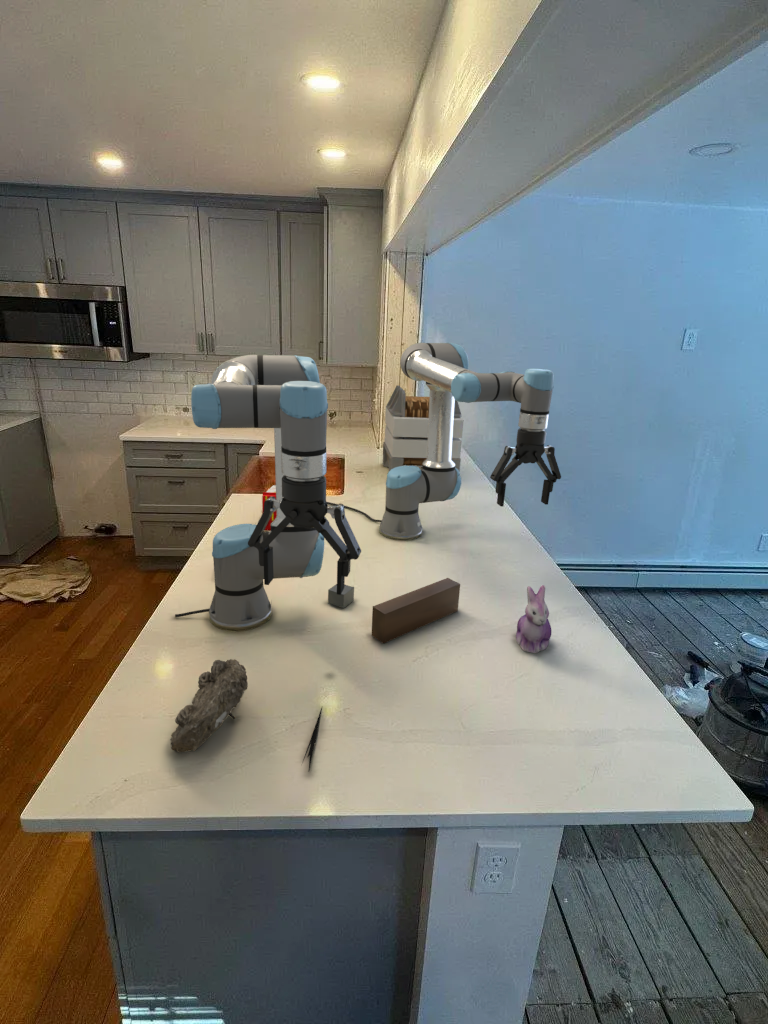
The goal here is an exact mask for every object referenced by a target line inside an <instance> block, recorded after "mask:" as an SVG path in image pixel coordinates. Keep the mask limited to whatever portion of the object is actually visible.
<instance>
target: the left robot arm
mask: <svg viewBox="0 0 768 1024" xmlns="http://www.w3.org/2000/svg"><path fill="white" fill-rule="evenodd" d="M190 395H191V397H190V403H191V416H192V422H193V423H194V425H195V426H196V427H198V428H202V429H212V430H217V429H252V428H253V429H273V436H274V437H273V438H274V439H273V441H274V473H275V485H276V499H275V497H273V496H271V497H269V498H268V499H267V500H266V501H265V502H264V510H263V514H261V515H260V517H259V519H258V521H257V523H255V524H252V523H239V524H233V525H230V526H228V527H225V528H223V529H221V530H220V531H218V532H217V533H216V534H215V535H214V536H213V539H212V551H211V556H212V558H213V559H212V560H213V561H212V562H213V576H214V578H213V579H214V593H213V596H212V600H211V603H210V607H208V608H204V609H198V610H193V611H186V612H182V613H176V614H174V618H181V617H186V616H191V615H196V614H202V613H203V614H204V613H207V612H208V619H209V621H210V623H211V625H212V626H214V627H215V628H217V629H220V630H223V631H226V632H227V631H229V632H243V631H245V632H246V631H249V630H253V629H256V628H259V627H261V626H263V625H264V624H266V623H267V622H268V621H269V620H270V619H271V617H272V615H273V614H272V599H271V601H270V599H269V596H268V594H267V592H266V589H265V586H269V585H270V584H271V583H272V581H273V580H275V579H290V578H291V579H292V578H293V579H294V578H299V579H303V578H308V577H315V576H317V575H318V574H319V573H320V572H321V569H322V566H323V562H324V561H323V560H324V553H325V541H326V542H327V543H328V545H329V546H330V547H331V548H332V550H333V551H334V552H335V554H336V555H337V556H338V557H339V558H338V560H337V561H336V563H337V564H336V584H337V594H339V595H341V593H342V591H343V589H344V584H345V579H346V578H347V577H349V574H350V572H351V565H352V563H351V560H358V559H359V557H360V555H361V553H362V549H361V547H360V544H359V542H358V540H357V538H356V535H355V534H354V531H353V530H352V529H353V528H351V525H350V523H349V521H348V519H347V517H346V510H345V508H344V506H345V505H344V504H343V503H341V502H340V503H337V504H338V505H337V506H334V505H329V504H327V502H328V501H327V477H326V474H327V425H328V421H327V420H328V409H329V403H328V391H327V387H326V386H325V384H323V383H321V382H320V376H319V371H318V366H317V364H316V361H315V360H314V359H313V358H312V357H310V356H301V355H297V354H294V355H283V354H282V355H280V354H279V355H277V354H276V355H274V354H273V355H272V354H270V355H269V354H247V355H246V354H245V355H240V356H236V357H234V358H231V359H228V360H226V361H223V362H222V363H221V364H219V365H218V366H217V367H216V368H215V370H214V371H213V373H212V375H211V382H210V383H209V382H208V383H203V384H195V385H194V386H193V387H192V389H191V394H190ZM275 511H277V516H276V519H275V520H274V521H273V522H272V523H271V531H266V530H265V528H266V526H267V524H268V522H269V520H270V518H271V516H272V514H273V512H275ZM327 514H329V515H330V516H331V518H332V519H333V520H334V522H335V525H336V527H337V530H338V531H339V534H340V535H338V534H337V532H336V530H335V529H334V528H333V527H332V526H331V525H330V521H329V520H328V519H327V517H326V516H327ZM340 536H341V537H340ZM342 539H343V540H342ZM264 585H265V586H264Z"/></svg>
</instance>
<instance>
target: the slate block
mask: <svg viewBox="0 0 768 1024" xmlns="http://www.w3.org/2000/svg"><path fill="white" fill-rule="evenodd" d="M354 600H355V587H354V586H352V585H351V586H350V585H348V584H345V583H344V589H343V591H342V593H341V595H339V594H337V583H335V585H333V586H331V587H330V588H328V589H327V603H328V604H330V605H333V606H336V607H339V608H341V609H345V608H346V607H347V606H349V605H350V604H352V602H353V601H354Z"/></svg>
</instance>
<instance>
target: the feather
mask: <svg viewBox="0 0 768 1024" xmlns="http://www.w3.org/2000/svg"><path fill="white" fill-rule="evenodd" d="M329 675H330V676H331V675H332V674H331V673H330V674H329ZM322 710H323V707H321V708H320V710H319V713H318V716H317V719H316V723H315V725H314V728H313V731H312V733H311V737H310V739H309V742H308V745H307V748H306V751H305V754H304V757H303V760H302V763H301V767H302V765H303V763H304V761H305V758H308V759H309V760H308V762H307V763H308V764H307V766H308V771H310V770H311V766H312V765H311V764H312V760H313V757H315V756H314V755H315V751H316V749H315V746H317V739H318V733H319V729H320V722H321V717H322V712H323V711H322ZM313 754H314V755H313ZM306 755H307V757H306Z"/></svg>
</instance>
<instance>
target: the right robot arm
mask: <svg viewBox="0 0 768 1024" xmlns="http://www.w3.org/2000/svg"><path fill="white" fill-rule="evenodd" d="M399 362H400V363H399V364H400V365H399V366H400V369H401V372H402V373H403V374H404V376H406V377H407V378H409V379H411V380H413V381H416V382H422V381H423V382H425V386H426V387H427V388H428V389H429V397H430V399H429V420H428V442H427V459H426V460H425V461H424V462H423V463H422V466H421V467H420V466H407V465H404V466H399V467H395V468H393V469H391V470H390V471H389V470H388V472H387V475H386V479H385V504H384V505H385V507H384V508H385V509H384V513H383V515H382V519H375V518H372V517H371V516H370V515H368V514H367V513H366V512H364V511H363V510H359V509H357V508H354V507H352V506H351V507H350V506H347V505H344V509H347V510H351V511H354V512H357V513H359V514H361V515H363V516H364V517H366V518H367V519H368V520H370V521H371V522H375V523H379V526H378V533H379V534H380V535H381V536H382V537H385V538H387V539H389V540H395V541H410V540H415V539H418V538H420V537H421V536H422V535H423V525H422V523H421V522H422V521H421V518H420V515H419V507H420V506H419V505H420V504H427V503H435V502H436V503H437V502H446V501H449V500H450V501H451V500H453V499H455V498H456V497H457V495H458V494H459V493H460V490H461V486H462V477H461V473H460V472H461V471H460V472H459V471H458V469H457V468H455V463H454V462H453V461H452V460H451V455H452V438H453V421H454V404H455V400H456V401H457V402H458V403H465V404H466V403H467V404H470V403H471V404H472V403H482V402H514V403H519V404H520V408H519V417H518V426H517V427H519V428H518V429H517V431H516V432H517V433H516V445H515V447H514V446H513V447H512V446H509V445H505V447H504V449H503V453H502V455H501V457H500V458H499V461H498V462H497V464H496V465H495V467H494V469H493V470H492V473H491V474H490V476H489V478H490V479H491V480H492V481H494V482H495V494H497V497H496V505H498V506H500V507H504V504H505V498H506V496H505V495H506V488H507V483H506V480H507V479H508V478H509V477H510V476H511V475H512V474H513V472H514V471H515V470H516V469H517V468H518V467H519V466H521V465H522V464H525V465H526V464H536V465H537V466H538V467H539V469H540V471H541V472H542V473H543V475H544V476H545V478H546V479H543V485H542V491H541V498H540V502H541V503H542V504H544V505H546V506H547V505H549V500H550V493H552V492H553V490H554V485H555V484H554V483H556V482H557V480H560V479H562V474H561V472H560V468H559V465H558V461H557V459H556V454H555V450H556V449H555V447H554V446H553V445H551V444H548V445H546V446H545V444H546V438H547V431H546V430H547V429H548V424H549V415H550V410H551V404H552V395H553V390H554V381H555V380H554V379H555V373H554V372H553V370H550V369H544V368H527V369H526V370H524V374H522V373H517V372H515V371H501V372H489V373H488V372H476V371H474V370H470V369H469V367H470V362H469V357H468V353H467V352H466V350H465V348H464V347H463V346H462V345H460V344H458V343H451V342H417V343H414V344H411V345H409V346H408V347H406V348H405V350H404V351H403V352H402V354H401V356H400V361H399ZM514 454H515V455H514ZM544 454H545V455H546V459H547V461H548V465H549V466H548V465H547V464H546V463H545V460H544V459H543V457H542V456H543V455H544ZM513 455H514V456H513ZM512 456H513V458H512ZM511 458H512V459H511ZM510 460H511V461H510ZM509 461H510V462H509ZM548 467H549V468H550V469H549V468H548ZM326 502H327V505H329V506H337V505H338V504H339V503H335V502H330V501H326Z"/></svg>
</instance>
